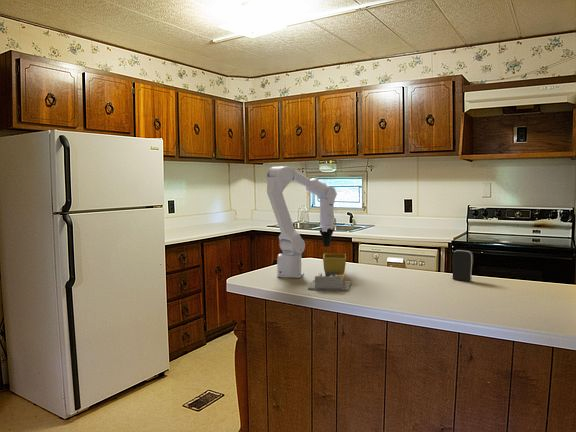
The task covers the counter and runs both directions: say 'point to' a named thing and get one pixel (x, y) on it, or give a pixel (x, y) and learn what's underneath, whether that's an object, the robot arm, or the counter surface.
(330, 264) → the flower pot
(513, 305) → the counter surface
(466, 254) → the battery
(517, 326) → the counter surface
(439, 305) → the counter surface
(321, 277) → the gauge housing
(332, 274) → the plunger
